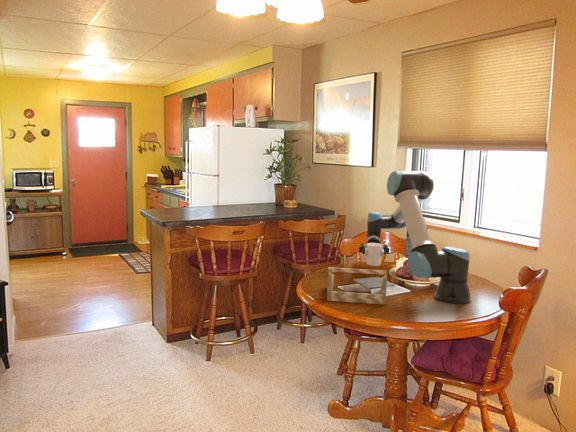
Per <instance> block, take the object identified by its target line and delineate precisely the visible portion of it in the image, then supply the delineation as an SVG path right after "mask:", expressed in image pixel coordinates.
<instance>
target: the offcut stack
mask: <svg viewBox="0 0 576 432" xmlns="http://www.w3.org/2000/svg"><path fill="white" fill-rule="evenodd" d="M371 289H372V288H366V287H347V286H345V287H343V288H342V290H339V291H338V292H352V293H367V294H372V290H371Z"/></svg>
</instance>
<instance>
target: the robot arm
mask: <svg viewBox="0 0 576 432" xmlns="http://www.w3.org/2000/svg"><path fill="white" fill-rule="evenodd" d="M434 186H435V185H434V180H433V177H432V176H431V175H430V174H429V173H428V172H426V171H424V170H396V171H395V170H394V171H392V172H391V173H390V174H389V176H388V178H387V183H386V192H387V194H388V195H389V196H392V197H393V198H394V201H395V202H396V203H398V204H399V206H398V207H397V208H396V210H395V211H394V212H392V214H391V215H387V214H386V215H383V214H382V212H379V211H370V212H368V214H367V220H366V223H367V225H366V238H365V239H366V240H365V241H366V243H360V246H359V247H358V253H362V254H363V255H364V257H367V243H380V244H382V243H381V233H382V230H400V229H405V228H406V232H407V231H408V234H409V238H410V241H411V245H412V249H411V250H410V254H409V256H408V267H409V270H410V272H411V273H410V274H412V276H414V277H415V278H417V279H429V278H430V279H431V278H432V279H433V278H434V279H435V278H440V280H439V282H438V285H437V287H436V290H435V293H434V297H435V298H436V299H437V300H439V301H441V302H444V303H449V304H459V305H460V304H468V303H470V302H471V297H472V296H471V292H470V289H469V288H470V287H469V285H468V280H469V270H470V269H469V268H470V266H469V265H470V261H471V260H470V253H469V251H468V250H466V249H463V248H459V247H454V246H442V248H441V250H438V248H437V244H435V243H434V242H432V240H431V237H430V234H429V230H427V227H428V226H427V224H426V220H425V218H424V215H423V212H422V208H421V203H422V202H423V201H425V200H426V199H428V198H429V197H430V195H431V194H432V193H433V191H434V188H435V187H434ZM386 254H387V255H389V254H390V248H389V247H388V244H383V248H382V257H381V258H385V256H384V255H386Z"/></svg>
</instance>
